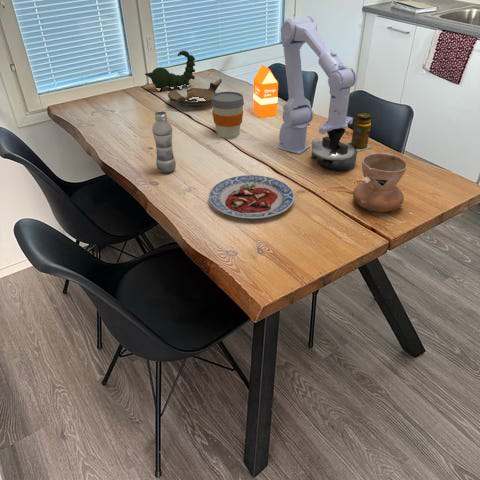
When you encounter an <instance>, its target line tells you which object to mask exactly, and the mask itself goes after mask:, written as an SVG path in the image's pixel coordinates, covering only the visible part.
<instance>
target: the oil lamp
mask: <svg viewBox="0 0 480 480" xmlns="http://www.w3.org/2000/svg"><path fill="white" fill-rule="evenodd" d="M222 81H223V80H222V78H219V79H218V80H216V81H215V82H210V83H209V88H200V87H190V89H186V94H187V95H186V96H187V98H186V97H184V96H183V95H182V94H181V93H179V92H178V90H177V89H174V90H171V91H169V92H168V94H167V96H168V99H169V101H170V102H173V103H177V104H179V105H184V106H187V107H202V106H206V105H209V104H211V101H212V95H213V94H215V93H217V92H216V91H217V89H218V87H219V86H220V85H221V83H222ZM192 97H199V98H204V99H205V100H206V101H198V102H196V101H189V100H188V101H189V102H188V101H185V100H186V99H188V98H192Z"/></svg>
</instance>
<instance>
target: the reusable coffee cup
mask: <svg viewBox="0 0 480 480" xmlns="http://www.w3.org/2000/svg"><path fill="white" fill-rule="evenodd" d="M244 100H245V99H244V95H243V94H242V93H240V92H237V91H236V92H235V91H220V92H216V93H215V94H213V95H212V101H211V103H210V104H211V107H212V111H211V112H212V117H213V118H212V119H213V123H214V124H215V129H216V130H215V131H216V135H217V137H218V138H221V137H222V139H234V137H235V138H238V137H239V136H240V133H241V124H243V118H244V117H243V116H244V110H243V109H244V104H245V102H244ZM238 135H239V136H238Z"/></svg>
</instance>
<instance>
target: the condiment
mask: <svg viewBox="0 0 480 480" xmlns="http://www.w3.org/2000/svg"><path fill="white" fill-rule="evenodd" d="M371 120H372V115H371V114H369V113H366V112H360V113H357V114H356V116H355V121H354V123H353V129H352V136H351V142H348V143H349V144H353V145H352V146H353V147H354V148H356V150H357V152H360V151H364V150H367V149H371V148H373V146H372V145H370V144H368V143H369V139H370V132H371V127H372V123H371V122H372V121H371Z"/></svg>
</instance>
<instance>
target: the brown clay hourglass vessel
mask: <svg viewBox="0 0 480 480" xmlns="http://www.w3.org/2000/svg"><path fill="white" fill-rule="evenodd" d="M407 167H408V163H407V161H406V160H405V159H404V158H402V157H401V156H399V155H397V154H392V153H389V152H373V153H372V152H371V153H368V154H366V155H365V156H363V157H362V160H361V168H362V169H361V170H362V174H363V175H362V176H363V178H361V179H360V183H359V184H357V185H356V186H355V187H354V189H353V191H352V197H353V200H354V201H355V203H356V205H358V206H359V207H360V208H362V209H364V210H367V211H370V212H375V213H388V212H393V211H395V210H397V209H398V208H400V207H401V206H402V204H403V203H404V200H405V198H404V197H405V196H404V193H403V191H402V190H401V189H400V187H398V186H397V184H398V183H399V182H400V180H401V179H402V178H403V176H404V174H405V173H406V170H407Z"/></svg>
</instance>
